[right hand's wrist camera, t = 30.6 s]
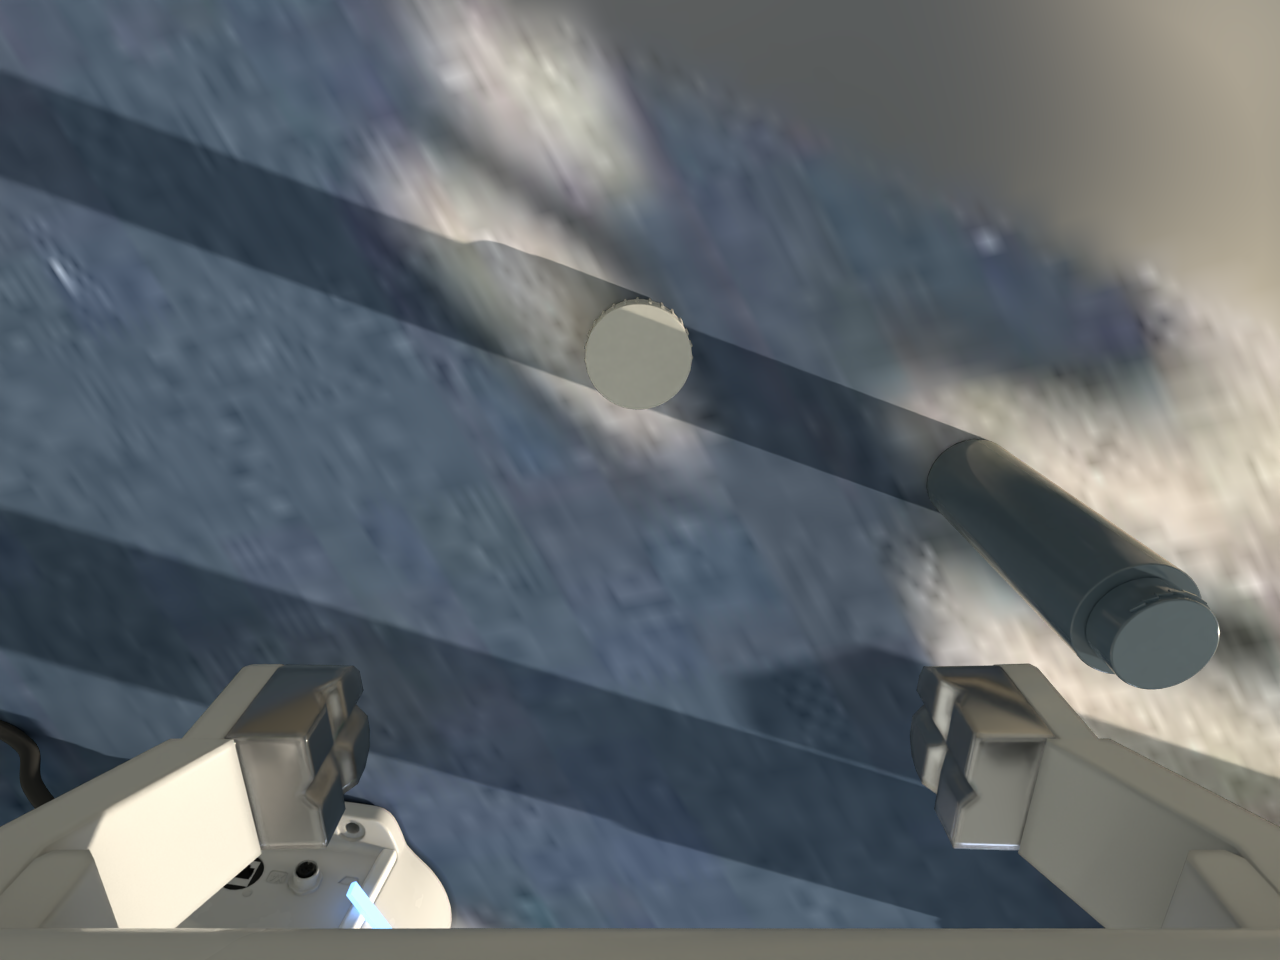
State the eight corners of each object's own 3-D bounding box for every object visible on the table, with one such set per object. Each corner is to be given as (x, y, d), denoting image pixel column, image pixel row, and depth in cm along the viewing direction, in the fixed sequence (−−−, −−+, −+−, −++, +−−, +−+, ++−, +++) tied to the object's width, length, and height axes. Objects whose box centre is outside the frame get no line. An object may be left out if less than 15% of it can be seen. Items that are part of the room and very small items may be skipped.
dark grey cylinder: (1029, 484, 38) (1259, 652, 24) (955, 534, 39) (1133, 724, 25) (985, 421, 36) (1200, 560, 23) (910, 474, 38) (1071, 639, 24)
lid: (564, 345, 35) (560, 353, 33) (643, 274, 34) (643, 277, 32) (633, 422, 36) (633, 432, 35) (712, 355, 35) (716, 363, 34)
